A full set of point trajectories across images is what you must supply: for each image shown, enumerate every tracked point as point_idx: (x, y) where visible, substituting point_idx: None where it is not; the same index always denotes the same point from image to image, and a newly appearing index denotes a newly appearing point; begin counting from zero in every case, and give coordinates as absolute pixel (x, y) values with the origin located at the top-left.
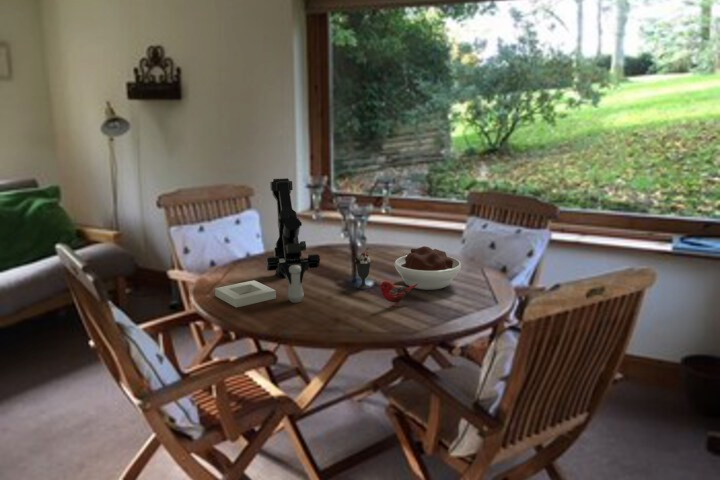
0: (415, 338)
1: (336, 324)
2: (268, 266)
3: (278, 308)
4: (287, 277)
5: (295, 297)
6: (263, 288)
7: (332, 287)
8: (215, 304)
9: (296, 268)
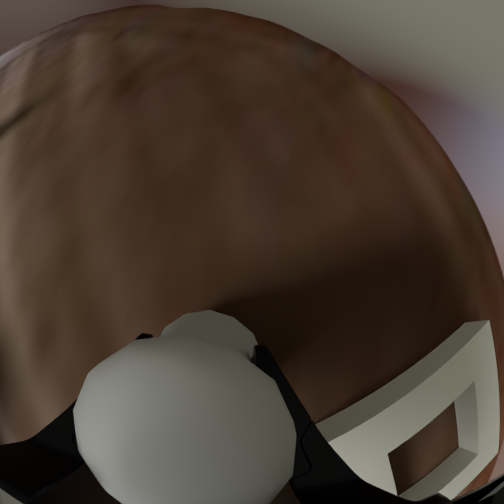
0: (67, 22)
1: (148, 59)
2: (476, 489)
3: (322, 264)
4: (291, 395)
5: (219, 313)
6: (376, 474)
7: None
8: None
9: (159, 353)
